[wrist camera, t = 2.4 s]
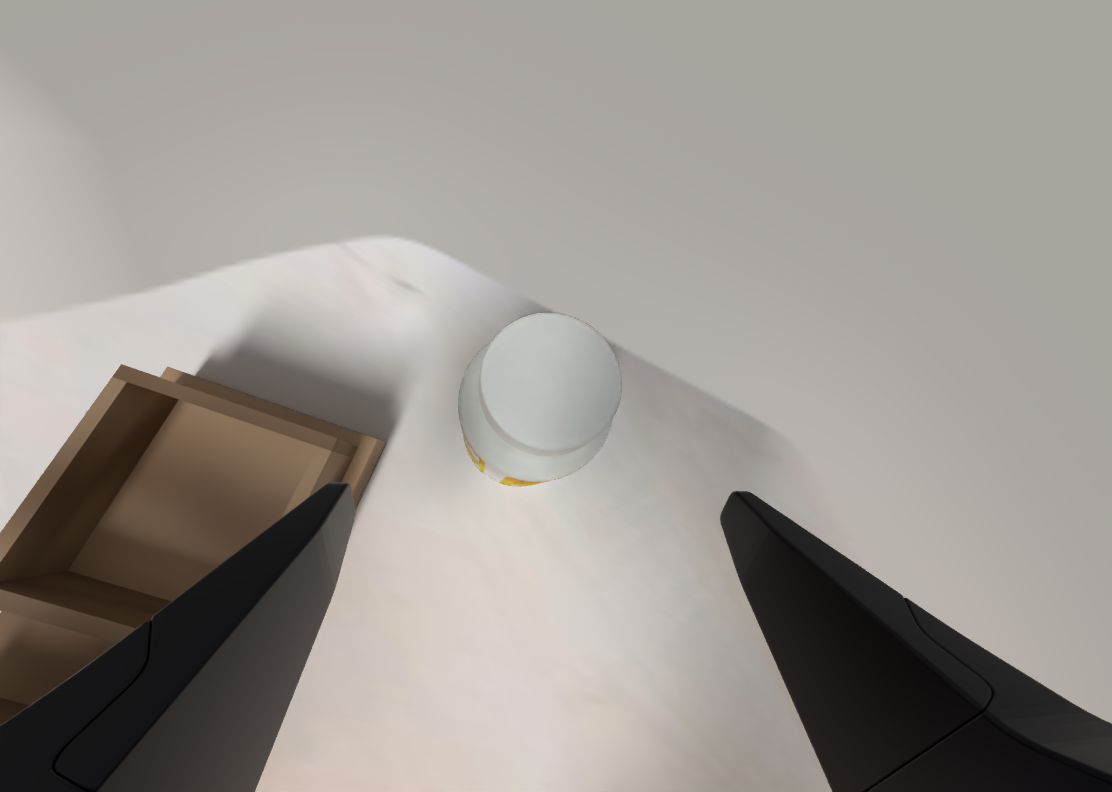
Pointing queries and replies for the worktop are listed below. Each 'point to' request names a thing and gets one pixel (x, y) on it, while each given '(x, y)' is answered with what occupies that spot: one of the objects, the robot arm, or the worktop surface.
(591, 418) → the supplement bottle
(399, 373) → the worktop surface
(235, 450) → the wooden compartment tray
